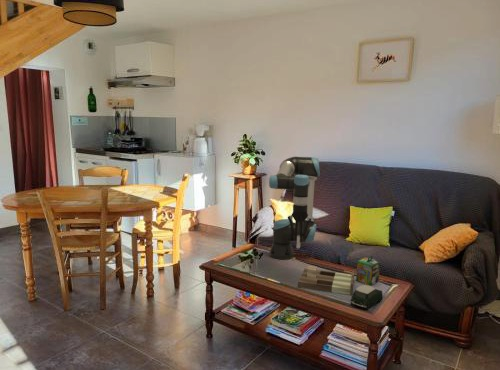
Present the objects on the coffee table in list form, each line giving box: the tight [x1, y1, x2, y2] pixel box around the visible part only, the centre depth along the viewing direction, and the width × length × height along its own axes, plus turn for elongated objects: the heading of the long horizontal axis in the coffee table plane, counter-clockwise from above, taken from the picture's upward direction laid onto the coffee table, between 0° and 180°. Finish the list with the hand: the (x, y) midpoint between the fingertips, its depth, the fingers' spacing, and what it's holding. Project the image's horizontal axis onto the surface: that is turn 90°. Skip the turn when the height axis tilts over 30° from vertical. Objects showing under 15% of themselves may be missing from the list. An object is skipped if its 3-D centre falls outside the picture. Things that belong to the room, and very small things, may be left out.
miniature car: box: [349, 284, 384, 310], centre depth 182 cm, size 9×18×8 cm, turn 136°
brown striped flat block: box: [297, 268, 356, 296], centre depth 202 cm, size 20×27×6 cm
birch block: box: [306, 265, 318, 278], centre depth 204 cm, size 4×4×4 cm
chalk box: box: [355, 254, 381, 286], centre depth 207 cm, size 9×9×15 cm
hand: (298, 247), depth 205 cm, fingers closed
